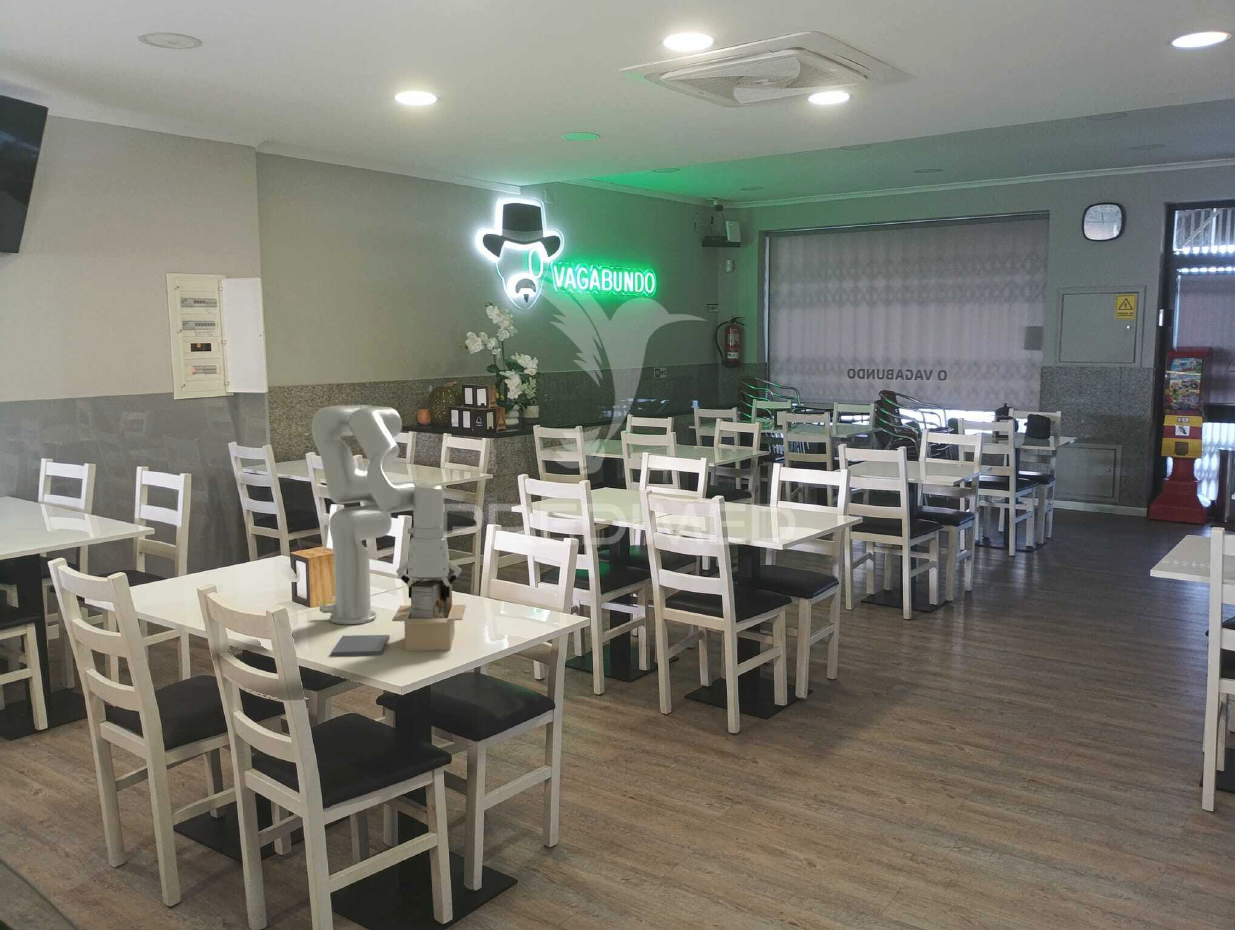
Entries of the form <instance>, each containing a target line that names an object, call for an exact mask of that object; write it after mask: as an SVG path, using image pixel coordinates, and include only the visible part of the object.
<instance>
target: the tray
mask: <svg viewBox="0 0 1235 930" xmlns="http://www.w3.org/2000/svg"><path fill="white" fill-rule="evenodd" d="M390 635H391V634H371V635H364V634H363V635H362V634H361V635H342V636H341V638H340V639H339V640H338V642H337V643H336V645H335V646H334V647H333V649H332V650H331V657H339V656H341V657H342V656H343V657H344V656H347V657H348V656H381V655H382V654H383V653H384V651H385V648H386V647H387V645H388V643H389V641H390V637H391V636H390Z"/></svg>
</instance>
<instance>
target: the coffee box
mask: <svg viewBox="0 0 1235 930" xmlns="http://www.w3.org/2000/svg"><path fill="white" fill-rule="evenodd" d="M419 579H420V580H418V581H416V582H415V583H413V584H411V598H410V605H411V619H437V618H447V601H446V602H444V601H443V587H444V582H443V580H442V579H441V578H419Z"/></svg>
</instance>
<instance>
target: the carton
mask: <svg viewBox="0 0 1235 930" xmlns="http://www.w3.org/2000/svg"><path fill="white" fill-rule="evenodd" d="M420 579H421V578H416V579H415V581H414V583H415V582H416V581H418V580H420ZM466 607H467V604H453V582H452V583H451V584H450V597H449V598H447V618H437V619H411V604H409V605H399V606H398V609H397V610H396V613H395V614H394V615H393V617H392V622H404V651H405V652H413V651H414V652H415V651H416V652H418V651H451V648H452V645H453V642H454V638H455V634H456V633H455V632H456V630H455V629H456V627H455V625H456V623H455V622H456V621H462V620H463V618H464V613H465V611H466Z"/></svg>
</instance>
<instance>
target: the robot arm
mask: <svg viewBox="0 0 1235 930" xmlns="http://www.w3.org/2000/svg"><path fill="white" fill-rule="evenodd" d="M402 423H403V421H402V418H401V416H400V414H399V413H398V411H397V410H395V409H394V408H393V407H391V406H381V405H370V404H357V405H355V404H353V405H352V404H351V405H330V406H325V407H323V408H320V409H319V410H317V411H316V412H315V413H314V415H313V417H312V421H311V434H312V439H313V442H314V444H315V447H316V449H317V451H318V454H319V456H320V459H321V465H322V469H323V475H324V479H325V482H326V488H327V492H328V493H327V494H328V496H329V498H330V500H331V501H332V502H333V503H335V504H340V505H341V504H342V505H343V504H353V503H361V502H363V504H364V505H359V506H352V507H344V508H341V509H338V510H337V511H335V512H334V513H333V514H332V515H331V516H330V518H329V522H328V525H329V532H330V537H331V540H332V548H333V566H334V568H333V569H334V570H333V572H334V600H335V601H334V603H331V604H328V605H327V604H320V605H319V612H320V613H321V612H322V614H327V613H328V614H331V615H329V621H330V622H331V623H333V624H338V625H358V624H359V625H360V624H364V623H365V624H366V623H369V622H371V621H374V620H375V619H377V613H376V612H375V611H374V610H371V609H372V608H371V607H372V606H371V570H370V568H371V567H370V566H371V565H370V564H371V563H370V555H369V552H368V550H367V548H366V547H365V546H364V545H363V543H362V541H365V540H370V539H377V538H382V537H385V536H386V535H388V534H389V533H390V531H391V529H392V523H393V522H392V521H393V520H392V513H400V512H407V511H413V526H412V527H411V528H407V534H409V535H412V536H413V537H411V538H410V539H409V547H408V558H407V559H408V561H406V562H405V563H404V564H403V565H401V566H400V567H398V568H397V569H396V571H395V572H396V574H397V575H398V577H399V578H400V579H401V581H402V582H404V583H405V584H406V586H407V587H408V599H411V584H413V583H414V581H415V579H422V578H441V579H442V580H443V582H444V587H443V601H444V602H446V601H447V598H449V597H450V584H451V583H452V584H453V583H454V582H455V581H456V580H457V578H458V577H459V576H460V574H461V573H462V571H463V570H462V568H461V567H459V566H458V565H456V563H454V562H452V561H451V560H450V555H449V553H450V552H449V544H448V541H447V537H445V533H444V531H445V528H444V523H445V522H444V520H445V519H444V517H445V516H444V511H445V510H444V509H445V508H444V507H445V506H444V504H445V503H444V489H443V487H442V486H441V485H438V484H431V483H427V482H425V481H422V480H411V481H400V482H392V483H391V482H390V481H389V479H388V477H387V476H386V474H385V473H384V470H383V469H384V468H386V467H387V466H390V464H392V463H393V462H395V460H396V459H397V458H398V456H399V454H400V446H399V445H398V443H397V441H396V440H395V438H394V437H397V436H398V435H399V434H400V432H401V431H402V426H403V424H402ZM350 436H354V438H355V440H356V441H357V443H358V445H359V446H360V448H361V450H362V451H363V454H364V455H365V456H366V458H367V459H368V461H369V463H368V467H357V466H356V463H355V460H354V456H353V455H354V454H353V453H352V450H351V448H350V447H349V446H348V445H347V443H346V442H345V441H343V439H342V438H341V437H350ZM450 569H451V570H452V571H453V572H454V573H453V574H452V575H451V576H450V577H449V572H450ZM406 570H407V572H408V573H407V574H408V575H407V574H406V573H405V572H404V571H406Z"/></svg>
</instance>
